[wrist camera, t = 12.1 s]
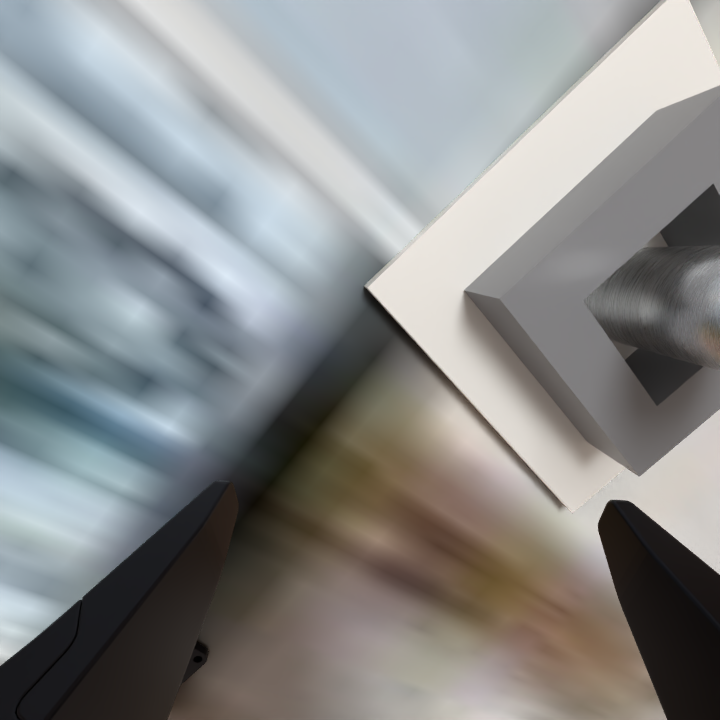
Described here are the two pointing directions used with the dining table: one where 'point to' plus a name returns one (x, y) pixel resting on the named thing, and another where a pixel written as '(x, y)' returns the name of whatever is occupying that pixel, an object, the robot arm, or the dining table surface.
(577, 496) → the mount
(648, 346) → the grey cylindrical piece
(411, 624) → the dining table surface
